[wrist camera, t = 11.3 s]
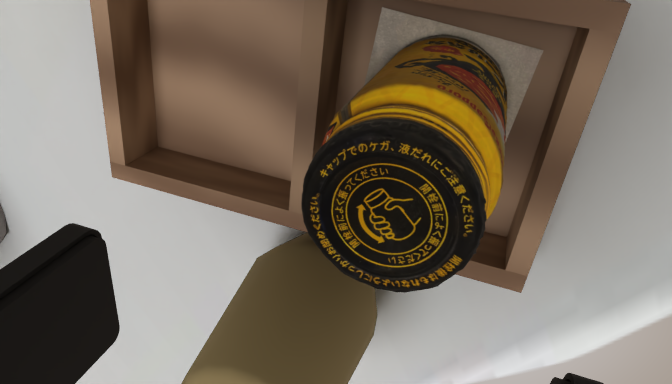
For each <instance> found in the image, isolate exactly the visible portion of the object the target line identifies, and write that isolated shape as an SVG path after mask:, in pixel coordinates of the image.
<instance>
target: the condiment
mask: <svg viewBox="0 0 672 384" xmlns="http://www.w3.org/2000/svg"><path fill="white" fill-rule="evenodd" d="M543 51H544V50H540V49H536V48H533V47H529V46H525V45H522V44H518V43H515V42H511V41H507V40H503V39H500V38H497V37H493V36H489V35H486V34H482V33H478V32H475V31H471V30H467V29H463V28H459V27H456V26H452V25H448V24H444V23H441V22H437V21H433V20H429V19H425V18H422V17H417V16H413V15H409V14H406V13H402V12H398V11H395V10H391V9H387V8H384V7H382V10H381V14H380V19H379V23H378V28H377V32H376V36H375V41H374V45H373V50H372V54H371V58H370V63H369V67H368V71H367V75H366V79H365V84H364V86H363V87H362V89H360V90H359V91H358V92H357V93H356V95H355V96H354V97H353V98H351V100H350V101H349V102H348V103H347V104H346V105H344V107H343V108H342V109H341V110H340V111H339V112H337V113H336V115H335V116H334V119H333V121H332V122H331V123H330V125H329V127H328V131H327V133H326V135H325V137H324V140H323V143H322V146H321V147H320V149H319V150H318V151H317V153H316V154H315V156H314V158H313V159H312V161H311V163H310V165H309V167H308V170H307V172H306V175H305V177H304V183H303V192H302V201H301V208H302V214H303V222H304V224H305V226H306V229H307V231H308V234H309V236H310V237H311V238H312V240H313V241H314V243H315V244H316V245H317V247H318V248H319V249H320V250H321V252H322V253H323V254H324V255H325V257H326V258H327V259H329V260H330V261H331V262H332V263H333V264H334V266H336V267H337V268H338V269H339V270H340V271H341V272H342V273H343V274H345V275H347V276H349V277H351V278H353V279H355V280H357V281H359V282H361V283H365V284H367V285H369V286H372V287H374V288H377V289H384V290H389V291H394V292H410V291H417V290H423V289H429V288H433V287H436V286H438V285H439V284H441V283H442V282H444V281H445V280H447V279H449V278H450V277H452V276H453V275H454V274H456V273H457V272H459V271H460V270H462V269H464V267H465V266H466V265H467V263H468V262H469V261H470V259H471V258H472V256H473V254H476V249H477V248H478V246H479V244H480V239H481V238H482V237H483V235H484V231H485V222H486V220H487V219H488V218H489V217H490V216H491V214H492V212H493V211H494V209H495V206H496V204H497V201H498V199H499V196H500V192H501V189H502V185H503V181H504V180H503V167H504V156H505V143H506V140H507V138H508V135H509V133H510V130H511V128H512V125H513V123H514V120H515V118H516V116H517V113H518V111H519V108H520V106H521V103H522V101H523V99H524V96H525V94H526V91H527V89H528V86H529V84H530V82H531V79H532V77H533V74H534V72H535V69H536V67H537V65H538V62H539V60H540V58H541V55H542V53H543Z"/></svg>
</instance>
